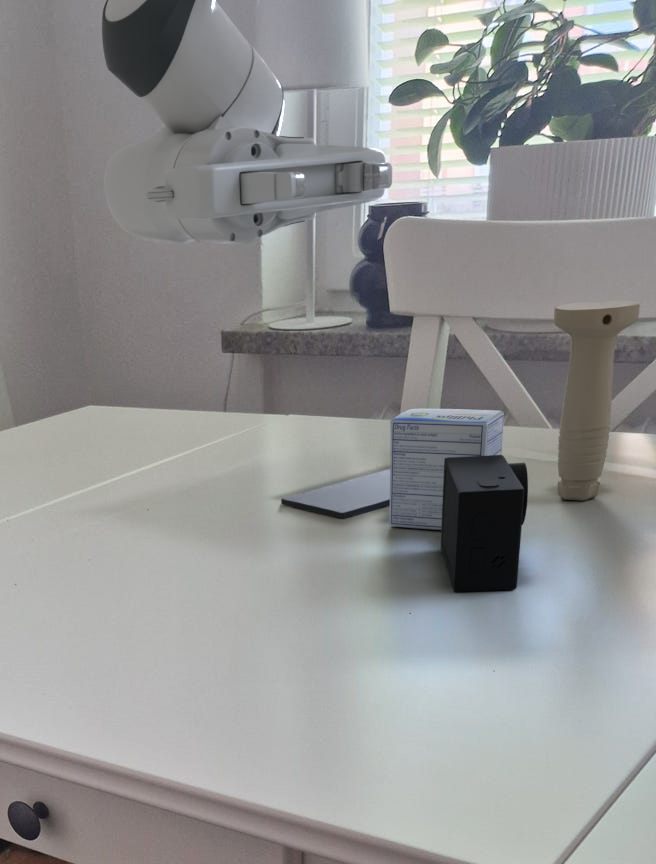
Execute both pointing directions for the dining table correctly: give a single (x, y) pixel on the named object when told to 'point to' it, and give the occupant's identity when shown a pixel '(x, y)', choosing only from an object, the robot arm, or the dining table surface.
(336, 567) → the dining table surface
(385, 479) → the smartphone
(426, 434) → the medicine box
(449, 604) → the dining table surface
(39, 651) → the dining table surface
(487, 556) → the digital camera
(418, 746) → the dining table surface
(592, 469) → the handle
